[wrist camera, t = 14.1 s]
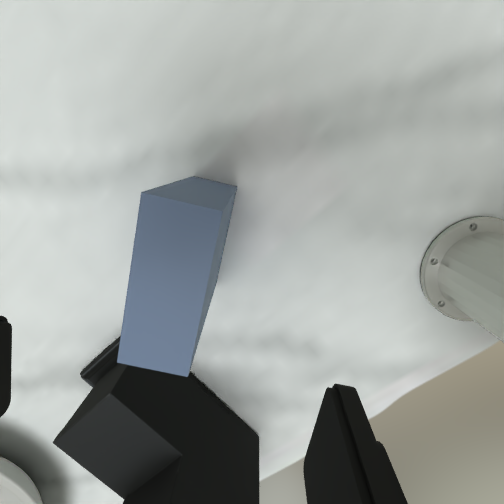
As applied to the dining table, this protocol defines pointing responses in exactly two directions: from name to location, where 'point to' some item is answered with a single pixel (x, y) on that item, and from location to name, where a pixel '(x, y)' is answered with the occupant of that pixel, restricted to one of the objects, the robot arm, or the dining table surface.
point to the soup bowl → (16, 485)
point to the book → (174, 272)
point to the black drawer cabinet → (160, 437)
